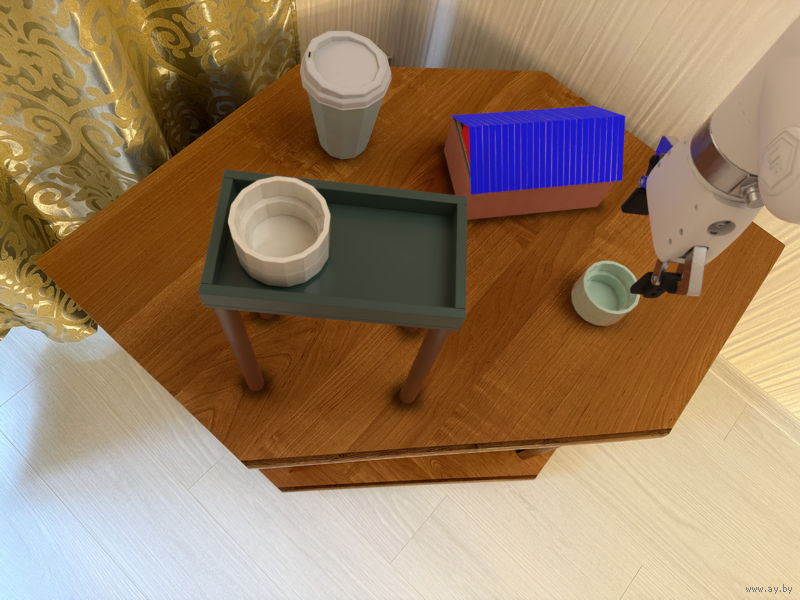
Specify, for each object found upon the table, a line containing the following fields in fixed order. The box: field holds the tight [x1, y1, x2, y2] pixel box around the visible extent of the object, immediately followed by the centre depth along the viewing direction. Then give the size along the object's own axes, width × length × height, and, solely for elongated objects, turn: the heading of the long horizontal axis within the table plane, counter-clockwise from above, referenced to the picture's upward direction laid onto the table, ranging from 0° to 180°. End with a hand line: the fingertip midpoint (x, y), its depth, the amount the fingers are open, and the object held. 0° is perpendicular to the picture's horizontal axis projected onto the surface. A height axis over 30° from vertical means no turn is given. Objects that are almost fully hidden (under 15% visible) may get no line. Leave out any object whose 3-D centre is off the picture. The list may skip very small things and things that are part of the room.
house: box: [443, 105, 626, 221], centre depth 76 cm, size 12×20×12 cm, turn 100°
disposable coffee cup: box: [299, 30, 392, 160], centre depth 74 cm, size 11×11×15 cm
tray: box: [197, 168, 468, 405], centre depth 57 cm, size 11×19×27 cm, turn 87°
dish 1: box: [228, 175, 330, 287], centre depth 44 cm, size 7×7×4 cm
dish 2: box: [570, 260, 641, 327], centre depth 73 cm, size 7×7×4 cm
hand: (638, 250), depth 63 cm, fingers open, 9 cm apart
